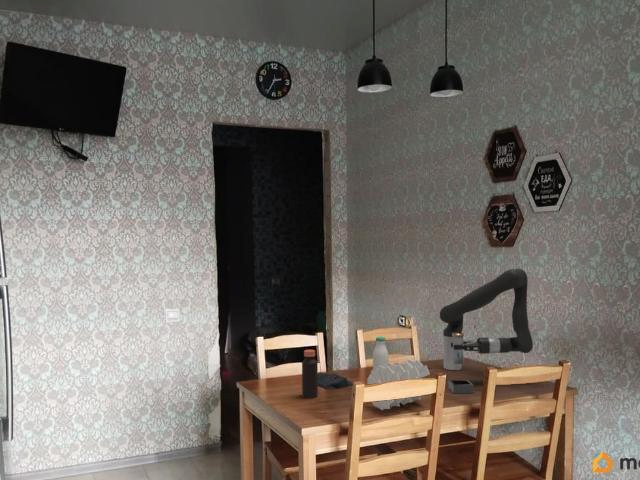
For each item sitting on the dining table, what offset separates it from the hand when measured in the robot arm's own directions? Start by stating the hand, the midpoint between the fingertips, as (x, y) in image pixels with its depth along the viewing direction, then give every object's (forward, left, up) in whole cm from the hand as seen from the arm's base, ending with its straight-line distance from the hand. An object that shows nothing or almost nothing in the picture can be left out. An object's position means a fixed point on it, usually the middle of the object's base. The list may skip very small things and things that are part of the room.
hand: (452, 346), depth 272 cm
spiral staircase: (+33, -32, -18) cm, 49 cm away
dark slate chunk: (-5, -58, -18) cm, 61 cm away
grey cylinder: (0, +3, -8) cm, 8 cm away
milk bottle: (-13, -32, -18) cm, 39 cm away
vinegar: (+18, -67, -18) cm, 72 cm away
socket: (+12, +1, -18) cm, 21 cm away
